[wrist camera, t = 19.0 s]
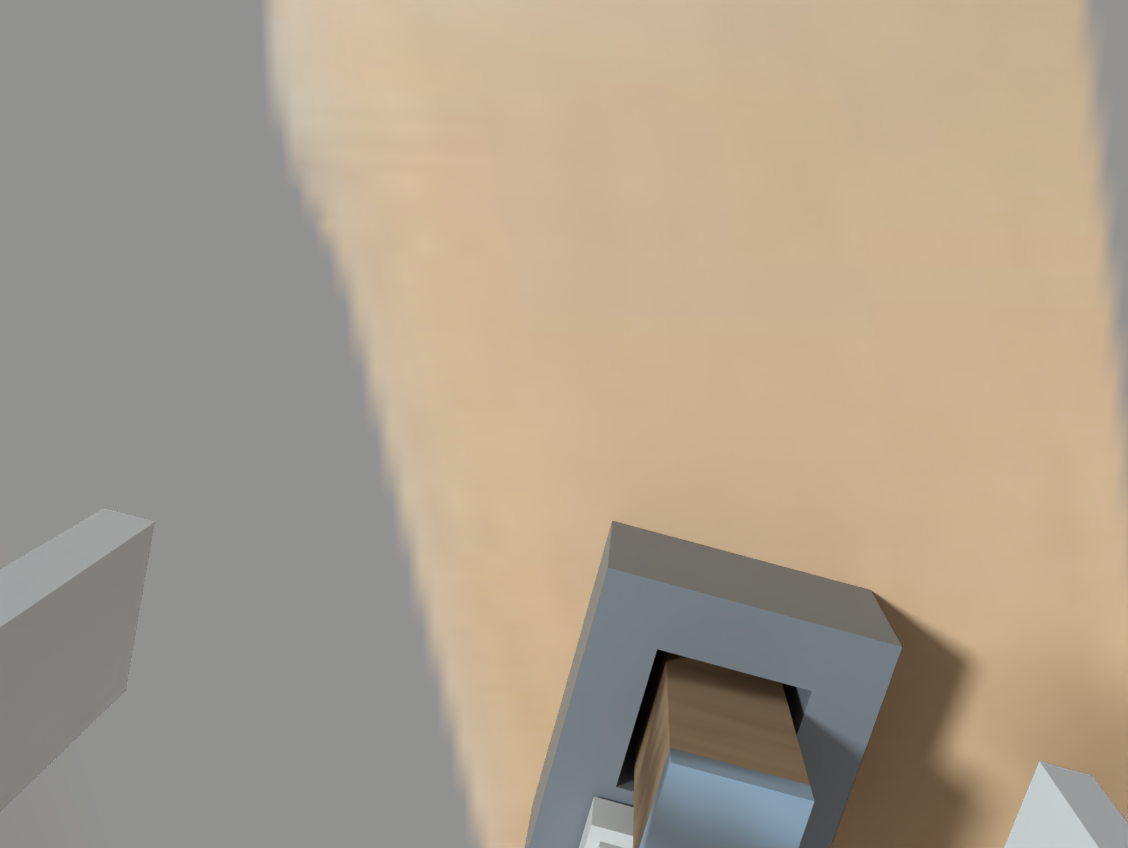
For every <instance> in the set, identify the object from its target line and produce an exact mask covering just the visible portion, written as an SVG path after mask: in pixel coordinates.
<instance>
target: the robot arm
mask: <svg viewBox="0 0 1128 848" xmlns="http://www.w3.org/2000/svg"><path fill="white" fill-rule="evenodd" d="M154 523H155V522H153V521H149V520H145V519H142V518H138V517H134V516H131V515H127V514H123V513H119V512H116V511H112V510H109V509H102V510H100V511H98V512H97V513H95V514H93V515H92V516H90V517H88V518H87V519H85V520H83V521H81V522H80V523H78V524H76V525H75V526H73V527H71V528H70V529H68V530H66V531H65V532H63V533H61V534H60V535H58V536H56V537H55V538H53V539H51V540H49V541H48V542H46V543H44V544H43V545H41V546H39V547H38V548H36V549H34V550H32V551H31V552H29V553H27V554H26V555H24V556H22V557H21V558H19V559H17V560H16V561H14V562H12V563H11V564H9V565H7V566H5V567H4V568H2V569H0V812H1V811H2V810H3V809H4V808H5V807H6V806H7V805H8V804H9V803H10V802H11V801H12V800H13V799H14V798H15V797H16V796H17V795H18V794H19V793H20V792H21V791H22V790H23V789H25V788H26V787H27V785H29V784H30V783H31V782H32V781H33V780H34V779H35V778H36V777H37V776H38V775H39V774H40V773H41V772H42V771H43V770H44V769H45V768H46V767H47V766H48V765H49V764H50V763H51V762H52V761H53V760H54V759H55V758H57V757H58V756H59V754H61V753H62V752H63V751H64V750H65V749H66V748H67V747H68V746H69V745H70V744H71V743H72V742H73V741H74V740H75V739H76V738H77V737H78V736H79V735H80V734H81V733H82V732H83V731H84V730H85V729H86V728H88V727H89V726H90V724H92V723H93V722H94V721H95V720H96V719H97V718H98V717H99V716H100V715H101V714H102V713H103V712H104V711H105V710H106V709H107V708H108V707H109V706H110V705H111V704H112V703H113V702H114V701H115V700H116V699H118V697H120V696H121V695H122V693H124V692H125V691H126V686H127V680H128V674H129V668H130V662H131V657H132V651H133V645H134V639H135V634H136V627H137V622H138V616H139V610H140V604H141V599H142V593H143V587H144V581H145V575H146V570H147V564H148V558H149V552H150V546H151V541H152V534H153V529H154ZM1004 848H1128V822H1127V821H1126V820H1125V818H1124V817H1123V816H1122V815H1121V813H1120V812H1119V811H1118V809H1117V808H1116V807H1115V805H1114V804H1113V803H1112V801H1111V800H1110V799H1109V797H1108V796H1107V795H1106V793H1105V792H1104V791H1103V789H1102V788H1101V787H1100V786H1099V784H1098V783H1097V782H1096V780H1095V779H1094V778H1093V776H1092V775H1089V774H1085V773H1081V772H1078V771H1074V770H1070V769H1066V768H1063V767H1059V766H1055V765H1052V764H1048V763H1044V762H1041V761H1039V763H1038V766H1037V768H1036V771H1035V773H1034V776H1033V778H1032V781H1031V783H1030V786H1029V788H1028V791H1027V793H1026V795H1025V798H1024V800H1023V803H1022V805H1021V808H1020V810H1019V813H1018V815H1017V818H1016V820H1015V823H1014V825H1013V828H1012V830H1011V833H1010V835H1009V838H1008V840H1007V843H1006V845H1005V847H1004Z"/></svg>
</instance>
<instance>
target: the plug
mask: <svg viewBox="0 0 1128 848" xmlns="http://www.w3.org/2000/svg"><path fill="white" fill-rule="evenodd" d="M814 802H815V801H814V798H813V794H812V790H811V787H810V783H809V779H808V776H807V772H806V769H805V765H804V761H803V758H802V754H801V750H800V747H799V743H798V739H797V736H796V732H795V729H794V725H793V721H792V718H791V714H790V710H789V707H788V703H787V700H786V696H785V692H784V689H783V685H782V683H780V682H777V681H773V680H769V679H765V678H762V677H758V676H754V675H751V674H747V673H743V672H740V671H736V670H732V669H728V668H725V667H721V666H717V665H714V664H710V663H706V662H703V661H699V660H695V659H691V658H688V657H684V656H680V655H677V654H673V653H669V652H666V651H662V650H658V649H657V652H656V655H655V658H654V662H653V665H652V668H651V672H650V675H649V678H648V682H647V685H646V688H645V692H644V695H643V698H642V702H641V705H640V708H639V712H638V715H637V718H636V722H635V766H634V818H633V848H799V845H800V842H801V839H802V836H803V833H804V830H805V827H806V825H807V822H808V819H809V816H810V813H811V810H812V807H813V804H814Z"/></svg>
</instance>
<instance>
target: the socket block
mask: <svg viewBox="0 0 1128 848" xmlns="http://www.w3.org/2000/svg"><path fill="white" fill-rule="evenodd" d="M657 649H658V650H662V651H666V652H669V653H673V654H677V655H680V656H684V657H688V658H691V659H695V660H699V661H703V662H706V663H710V664H714V665H717V666H721V667H725V668H728V669H732V670H736V671H740V672H743V673H747V674H751V675H754V676H758V677H762V678H765V679H769V680H773V681H777V682H780V683H782V685H783V689H784V692H785V696H786V700H787V703H788V707H789V710H790V714H791V718H792V721H793V725H794V729H795V732H796V736H797V739H798V743H799V747H800V750H801V754H802V758H803V761H804V765H805V769H806V772H807V776H808V779H809V783H810V787H811V790H812V794H813V798H814V801H815V802H814V804H813V807H812V810H811V813H810V816H809V819H808V822H807V825H806V827H805V830H804V833H803V836H802V839H801V842H800V845H799V848H830V847H831V844H832V841H833V839H834V836H835V833H836V830H837V827H838V825H839V822H840V819H841V816H842V814H843V811H844V808H845V805H846V802H847V800H848V797H849V794H850V791H851V789H852V786H853V783H854V780H855V777H856V775H857V772H858V769H859V766H860V763H861V761H862V758H863V755H864V752H865V750H866V747H867V744H868V741H869V738H870V736H871V733H872V730H873V727H874V725H875V722H876V719H877V716H878V713H879V711H880V708H881V705H882V702H883V700H884V697H885V694H886V691H887V688H888V686H889V683H890V680H891V677H892V674H893V672H894V669H895V666H896V663H897V661H898V658H899V655H900V652H901V649H902V645H901V643H900V642H899V640H898V638H897V636H896V635H895V633H894V631H893V629H892V627H891V626H890V624H889V622H888V620H887V618H886V617H885V615H884V613H883V611H882V610H881V608H880V606H879V604H878V602H877V601H876V599H875V597H874V595H873V593H872V592H871V590H868V589H864V588H860V587H856V586H853V585H849V584H845V583H841V582H838V581H834V580H830V579H827V578H823V577H819V576H815V575H812V574H808V573H804V572H801V571H797V570H793V569H789V568H786V567H782V566H778V565H774V564H771V563H767V562H763V561H760V560H756V559H752V558H748V557H745V556H741V555H737V554H733V553H730V552H726V551H722V550H719V549H715V548H711V547H707V546H704V545H700V544H696V543H693V542H689V541H685V540H681V539H678V538H674V537H670V536H666V535H663V534H659V533H655V532H652V531H648V530H644V529H640V528H637V527H633V526H629V525H625V524H622V523H618V522H614V521H612V524H611V528H610V531H609V535H608V538H607V542H606V545H605V549H604V553H603V556H602V560H601V563H600V567H599V570H598V574H597V578H596V581H595V585H594V588H593V592H592V595H591V599H590V602H589V606H588V610H587V613H586V617H585V620H584V624H583V627H582V631H581V635H580V638H579V642H578V645H577V649H576V652H575V656H574V660H573V663H572V667H571V670H570V674H569V677H568V681H567V685H566V688H565V692H564V695H563V699H562V702H561V706H560V709H559V713H558V717H557V720H556V724H555V727H554V731H553V734H552V738H551V742H550V745H549V749H548V752H547V756H546V759H545V763H544V767H543V770H542V774H541V777H540V781H539V784H538V788H537V792H536V795H535V799H534V802H533V806H532V811H531V816H530V822H529V827H528V833H527V838H526V844H525V848H579V845H580V842H581V838H582V835H583V832H584V828H585V825H586V821H587V818H588V815H589V811H590V808H591V804H592V801H593V798H594V797H598V798H601V799H605V800H609V801H612V802H616V803H620V804H623V805H627V806H631V807H634V766H635V722H636V718H637V715H638V712H639V708H640V705H641V702H642V698H643V695H644V692H645V688H646V685H647V682H648V678H649V675H650V672H651V668H652V665H653V662H654V658H655V655H656V652H657Z"/></svg>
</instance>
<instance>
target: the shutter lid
mask: <svg viewBox="0 0 1128 848" xmlns="http://www.w3.org/2000/svg"><path fill="white" fill-rule="evenodd" d="M633 818H634V807H631V806H627V805H623V804H620V803H616V802H612V801H609V800H605V799H601V798H598V797H594V798H593V801H592V804H591V808H590V811H589V815H588V818H587V821H586V825H585V828H584V832H583V835H582V838H581V842H580V845H579V848H633Z"/></svg>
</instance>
